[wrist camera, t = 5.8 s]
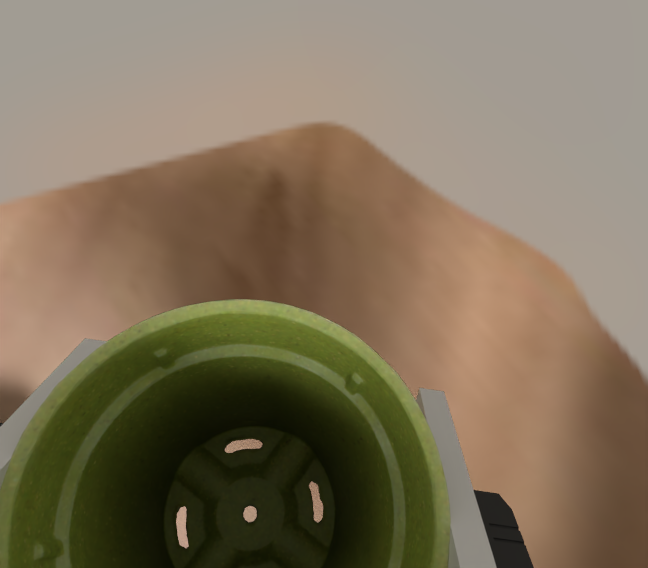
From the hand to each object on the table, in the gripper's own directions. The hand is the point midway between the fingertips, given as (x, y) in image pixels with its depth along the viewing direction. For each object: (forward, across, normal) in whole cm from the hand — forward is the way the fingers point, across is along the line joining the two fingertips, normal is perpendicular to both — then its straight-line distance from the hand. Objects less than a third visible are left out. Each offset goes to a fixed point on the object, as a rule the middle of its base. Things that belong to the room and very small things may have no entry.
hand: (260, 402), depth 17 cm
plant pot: (+1, 0, -5) cm, 5 cm away
